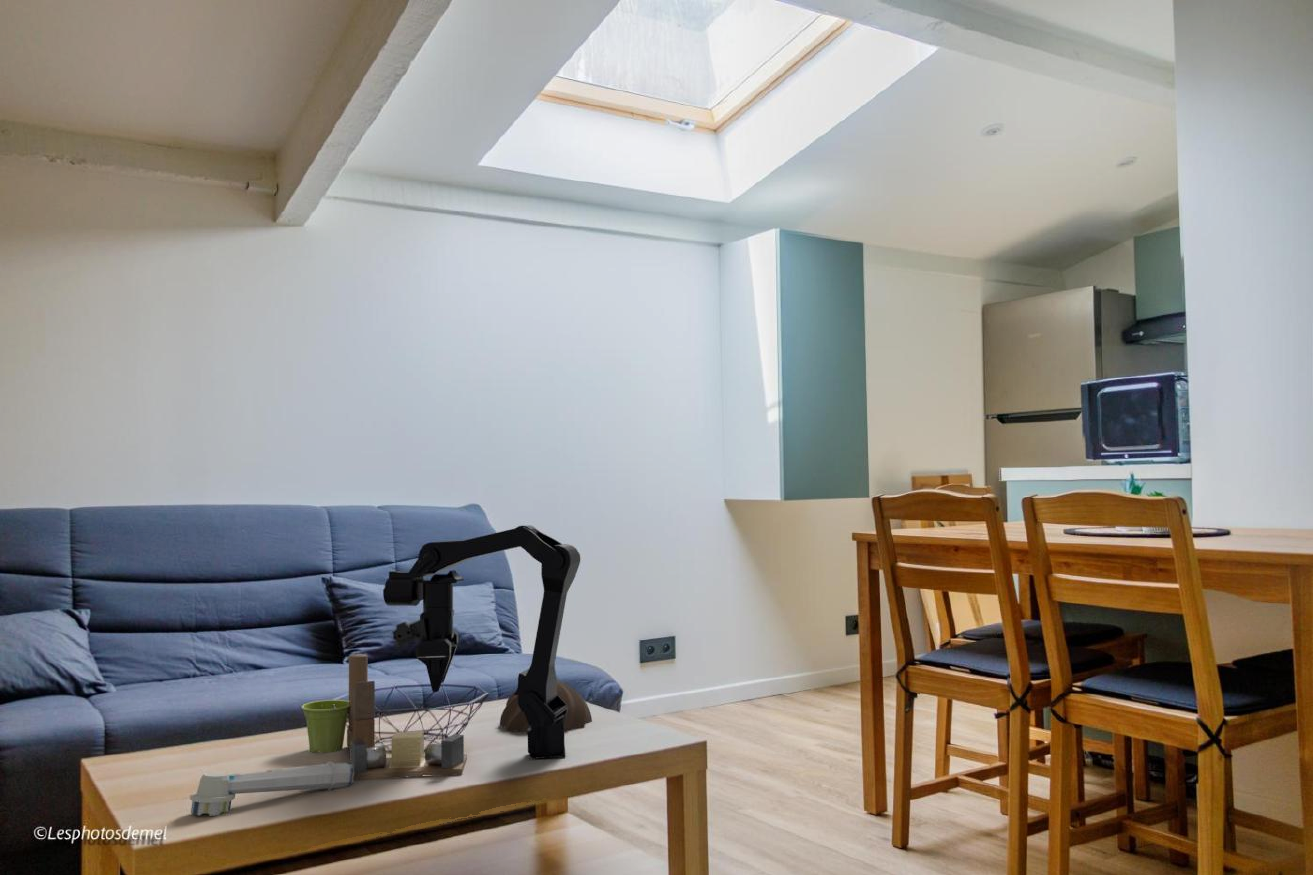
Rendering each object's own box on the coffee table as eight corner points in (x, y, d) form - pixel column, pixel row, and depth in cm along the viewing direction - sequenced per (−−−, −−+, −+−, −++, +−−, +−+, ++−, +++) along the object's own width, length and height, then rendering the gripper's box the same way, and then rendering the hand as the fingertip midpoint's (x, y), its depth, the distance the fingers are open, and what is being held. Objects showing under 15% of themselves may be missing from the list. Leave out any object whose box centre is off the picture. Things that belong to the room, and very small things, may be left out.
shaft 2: (423, 767, 170) (423, 740, 170) (435, 760, 174) (435, 733, 175) (452, 769, 168) (451, 741, 169) (463, 762, 173) (463, 734, 173)
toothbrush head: (357, 764, 163) (200, 771, 147) (351, 805, 162) (193, 817, 146) (344, 758, 167) (191, 765, 151) (339, 798, 166) (184, 809, 150)
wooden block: (355, 759, 180) (355, 662, 182) (346, 746, 190) (346, 654, 191) (375, 756, 182) (375, 660, 183) (365, 744, 192) (365, 652, 193)
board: (466, 759, 179) (466, 753, 179) (461, 774, 169) (461, 768, 169) (355, 764, 176) (355, 759, 176) (344, 780, 166) (344, 774, 166)
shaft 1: (381, 763, 173) (381, 736, 174) (386, 769, 169) (386, 741, 169) (350, 767, 171) (350, 740, 171) (354, 774, 167) (354, 745, 167)
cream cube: (423, 758, 176) (423, 730, 176) (420, 765, 171) (420, 737, 171) (395, 759, 175) (395, 731, 176) (391, 767, 170) (391, 738, 171)
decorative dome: (552, 739, 194) (551, 688, 195) (480, 727, 205) (480, 680, 206) (609, 720, 210) (608, 673, 211) (540, 710, 221) (540, 666, 222)
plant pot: (344, 741, 195) (345, 697, 195) (357, 750, 187) (357, 705, 187) (296, 748, 190) (296, 703, 190) (307, 758, 182) (307, 711, 182)
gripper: (402, 602, 196) (402, 680, 195) (387, 612, 178) (387, 698, 176) (458, 600, 197) (458, 678, 196) (449, 610, 179) (449, 696, 178)
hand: (438, 687), depth 187 cm, fingers open, 9 cm apart
